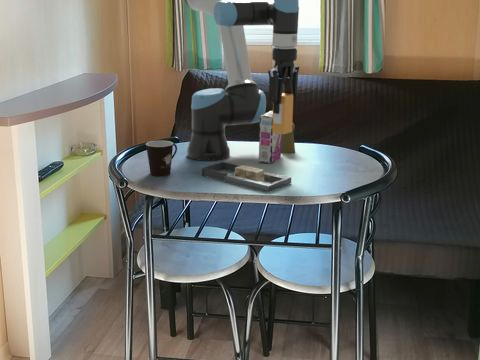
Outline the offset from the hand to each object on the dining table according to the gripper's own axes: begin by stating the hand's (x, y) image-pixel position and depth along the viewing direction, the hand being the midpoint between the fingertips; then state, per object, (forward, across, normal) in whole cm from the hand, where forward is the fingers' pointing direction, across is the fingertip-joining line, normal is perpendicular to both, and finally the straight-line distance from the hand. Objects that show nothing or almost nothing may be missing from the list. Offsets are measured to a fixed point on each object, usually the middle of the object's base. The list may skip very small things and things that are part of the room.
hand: (282, 121), depth 213 cm
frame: (+17, -12, +14) cm, 25 cm away
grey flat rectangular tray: (+17, -12, 0) cm, 21 cm away
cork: (+18, +26, +16) cm, 35 cm away
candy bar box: (+18, +13, +14) cm, 26 cm away
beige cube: (+17, -12, +6) cm, 22 cm away
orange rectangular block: (+3, 0, 0) cm, 3 cm away
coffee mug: (+18, -23, +30) cm, 42 cm away
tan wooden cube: (+17, -12, +1) cm, 21 cm away
